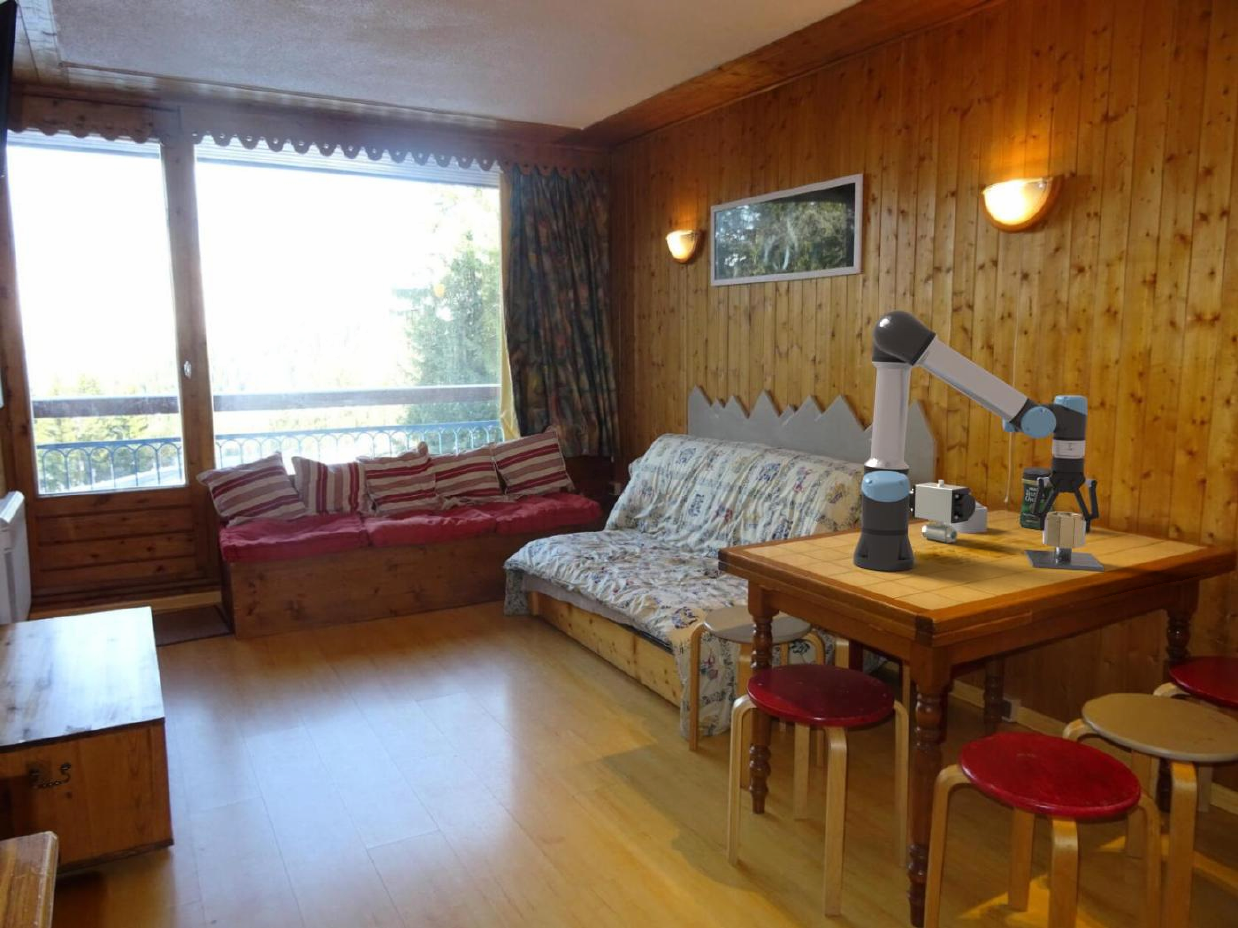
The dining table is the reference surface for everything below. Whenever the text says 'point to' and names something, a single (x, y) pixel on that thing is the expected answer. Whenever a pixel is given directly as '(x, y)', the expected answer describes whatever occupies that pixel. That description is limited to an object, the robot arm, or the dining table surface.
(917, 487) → the ball valve
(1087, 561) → the pipe stub
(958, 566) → the dining table surface
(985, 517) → the grey paw print block
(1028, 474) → the coffee jar
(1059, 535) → the ring
